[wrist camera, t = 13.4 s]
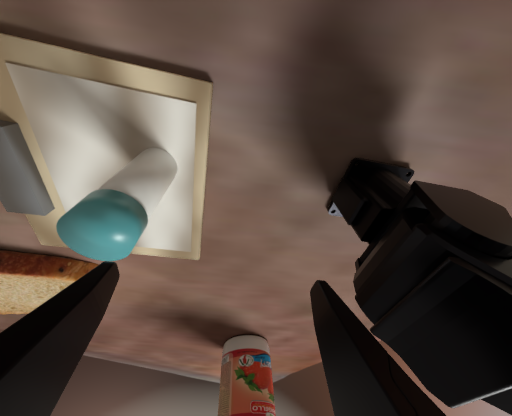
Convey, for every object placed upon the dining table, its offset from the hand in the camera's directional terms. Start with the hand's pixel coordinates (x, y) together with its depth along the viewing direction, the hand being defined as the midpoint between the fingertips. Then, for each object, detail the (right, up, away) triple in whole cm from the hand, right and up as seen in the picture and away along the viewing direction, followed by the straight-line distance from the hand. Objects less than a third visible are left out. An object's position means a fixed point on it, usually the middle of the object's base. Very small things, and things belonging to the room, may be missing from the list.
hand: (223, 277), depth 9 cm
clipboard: (-12, +6, +10) cm, 17 cm away
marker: (-7, +7, +8) cm, 13 cm away
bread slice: (-29, -5, +17) cm, 34 cm away
